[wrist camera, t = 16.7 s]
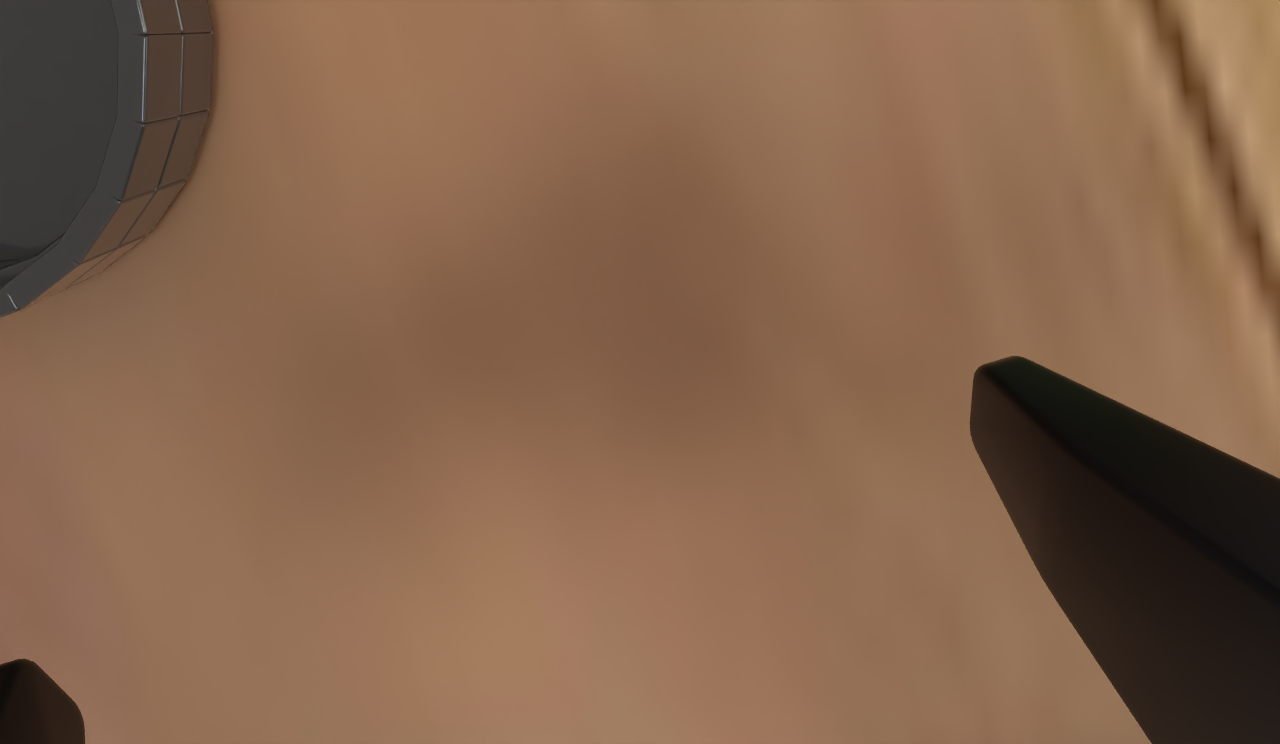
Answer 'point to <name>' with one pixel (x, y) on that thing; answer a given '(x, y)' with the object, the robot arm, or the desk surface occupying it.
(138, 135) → the pan
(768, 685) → the desk surface
